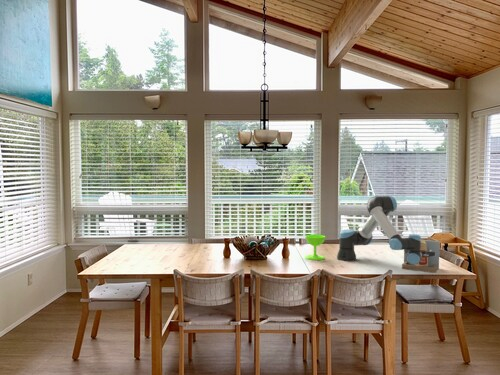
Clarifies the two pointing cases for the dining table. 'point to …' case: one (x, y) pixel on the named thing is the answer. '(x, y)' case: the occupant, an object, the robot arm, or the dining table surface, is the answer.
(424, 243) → the milk carton
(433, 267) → the wall board
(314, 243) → the wineglass
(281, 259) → the dining table surface
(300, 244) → the dining table surface
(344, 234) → the robot arm
